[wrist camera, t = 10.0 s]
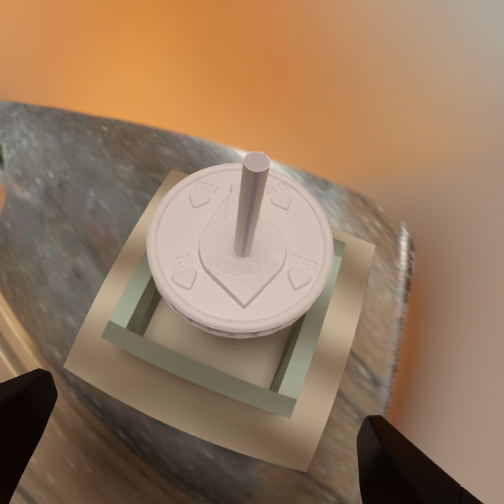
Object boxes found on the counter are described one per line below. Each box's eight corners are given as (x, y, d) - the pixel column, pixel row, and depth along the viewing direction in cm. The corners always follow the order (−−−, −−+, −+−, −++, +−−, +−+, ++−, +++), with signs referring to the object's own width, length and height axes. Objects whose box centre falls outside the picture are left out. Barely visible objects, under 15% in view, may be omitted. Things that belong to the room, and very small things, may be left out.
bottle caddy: (302, 468, 16) (324, 486, 12) (69, 368, 17) (35, 359, 13) (369, 251, 23) (397, 221, 19) (173, 176, 24) (166, 136, 20)
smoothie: (176, 362, 18) (77, 283, 5) (180, 260, 20) (138, 66, 8) (286, 361, 18) (425, 282, 6) (280, 261, 21) (357, 77, 8)
